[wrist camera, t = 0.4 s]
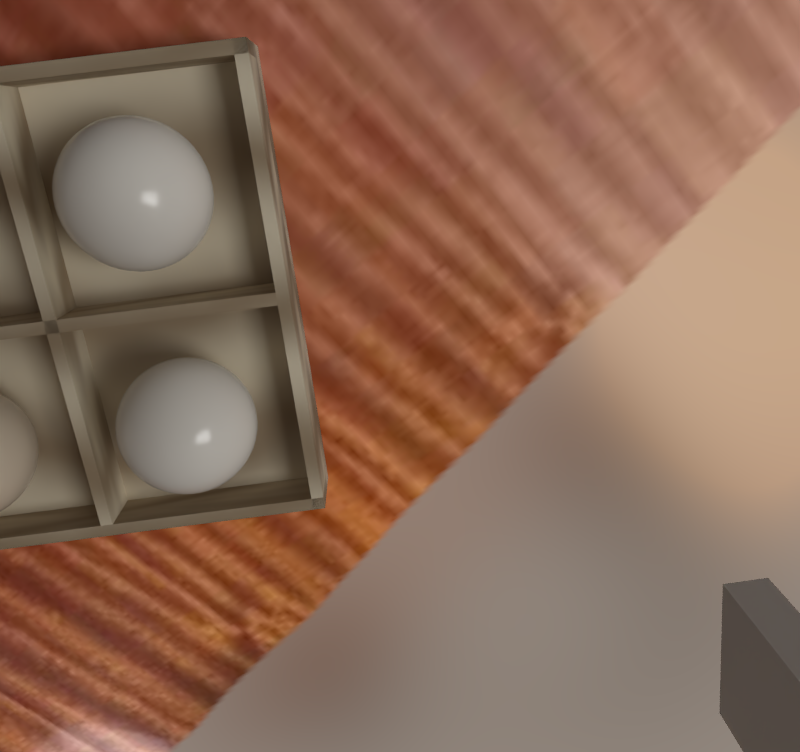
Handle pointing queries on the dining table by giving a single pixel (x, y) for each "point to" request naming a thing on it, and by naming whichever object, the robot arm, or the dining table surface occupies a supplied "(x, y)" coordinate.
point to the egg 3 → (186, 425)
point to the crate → (148, 297)
